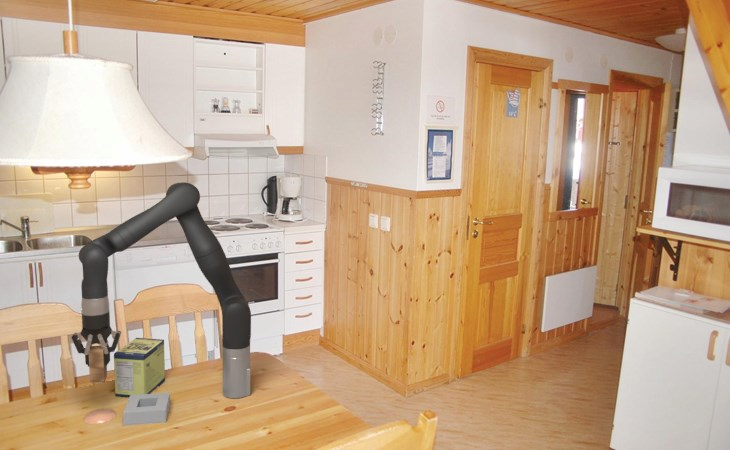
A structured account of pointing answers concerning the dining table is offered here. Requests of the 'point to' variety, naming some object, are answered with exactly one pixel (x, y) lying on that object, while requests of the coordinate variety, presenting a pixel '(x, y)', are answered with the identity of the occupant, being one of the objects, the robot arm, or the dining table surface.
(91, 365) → the walnut block
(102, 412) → the coaster
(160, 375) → the protein box
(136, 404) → the pocket holder
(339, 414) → the dining table surface
